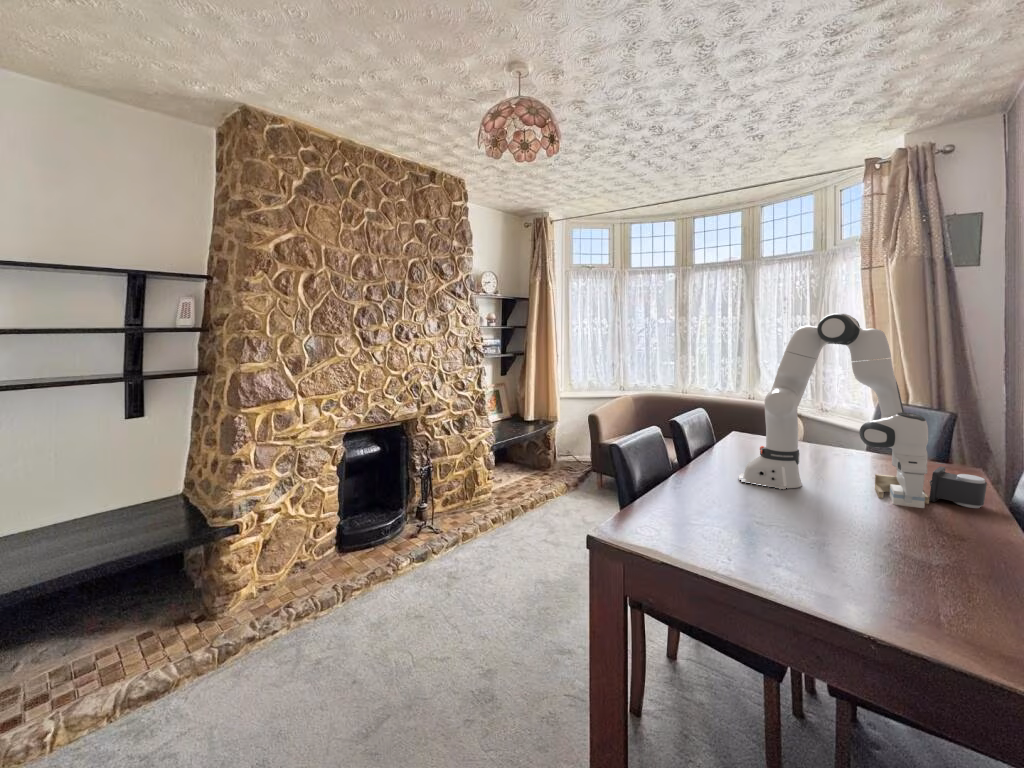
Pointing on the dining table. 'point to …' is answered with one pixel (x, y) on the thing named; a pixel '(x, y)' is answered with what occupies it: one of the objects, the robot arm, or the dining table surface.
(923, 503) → the carton
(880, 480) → the stand
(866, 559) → the dining table surface
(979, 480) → the light fixture
